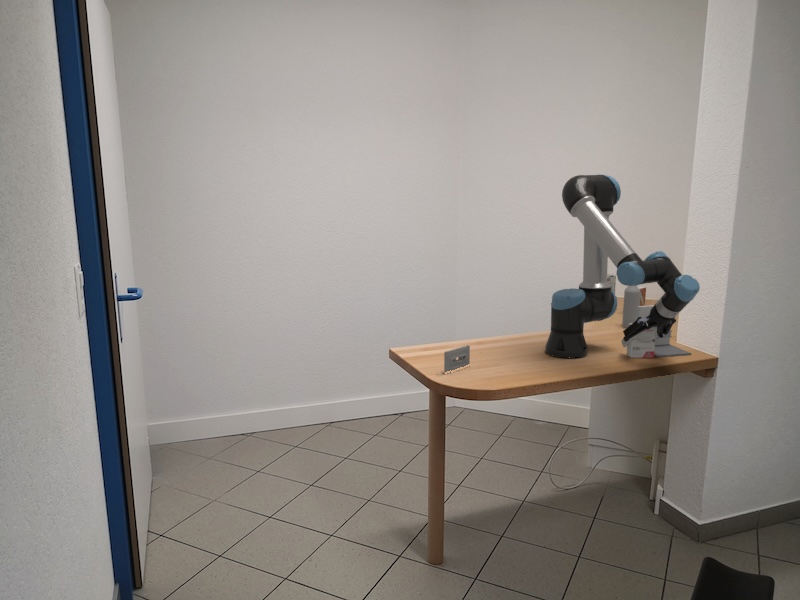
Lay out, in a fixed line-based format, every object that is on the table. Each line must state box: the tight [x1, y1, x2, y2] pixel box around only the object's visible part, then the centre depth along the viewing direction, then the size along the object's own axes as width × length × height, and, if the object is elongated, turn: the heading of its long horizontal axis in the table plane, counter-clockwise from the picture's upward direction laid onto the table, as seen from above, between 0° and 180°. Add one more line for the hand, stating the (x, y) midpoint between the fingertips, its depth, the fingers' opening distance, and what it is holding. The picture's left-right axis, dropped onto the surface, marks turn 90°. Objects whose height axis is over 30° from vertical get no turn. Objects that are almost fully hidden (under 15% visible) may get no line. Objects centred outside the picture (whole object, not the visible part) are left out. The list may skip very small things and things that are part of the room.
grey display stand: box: [636, 304, 692, 358], centre depth 220 cm, size 14×18×16 cm
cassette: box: [443, 344, 471, 372], centre depth 201 cm, size 12×2×8 cm, turn 133°
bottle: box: [621, 285, 640, 329], centre depth 254 cm, size 7×7×28 cm
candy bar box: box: [607, 273, 617, 294], centre depth 294 cm, size 11×5×16 cm, turn 119°
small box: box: [637, 285, 647, 306], centre depth 279 cm, size 8×6×13 cm
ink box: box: [626, 323, 656, 359], centre depth 213 cm, size 9×5×12 cm, turn 84°
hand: (635, 343), depth 216 cm, fingers closed on ink box, 9 cm apart
